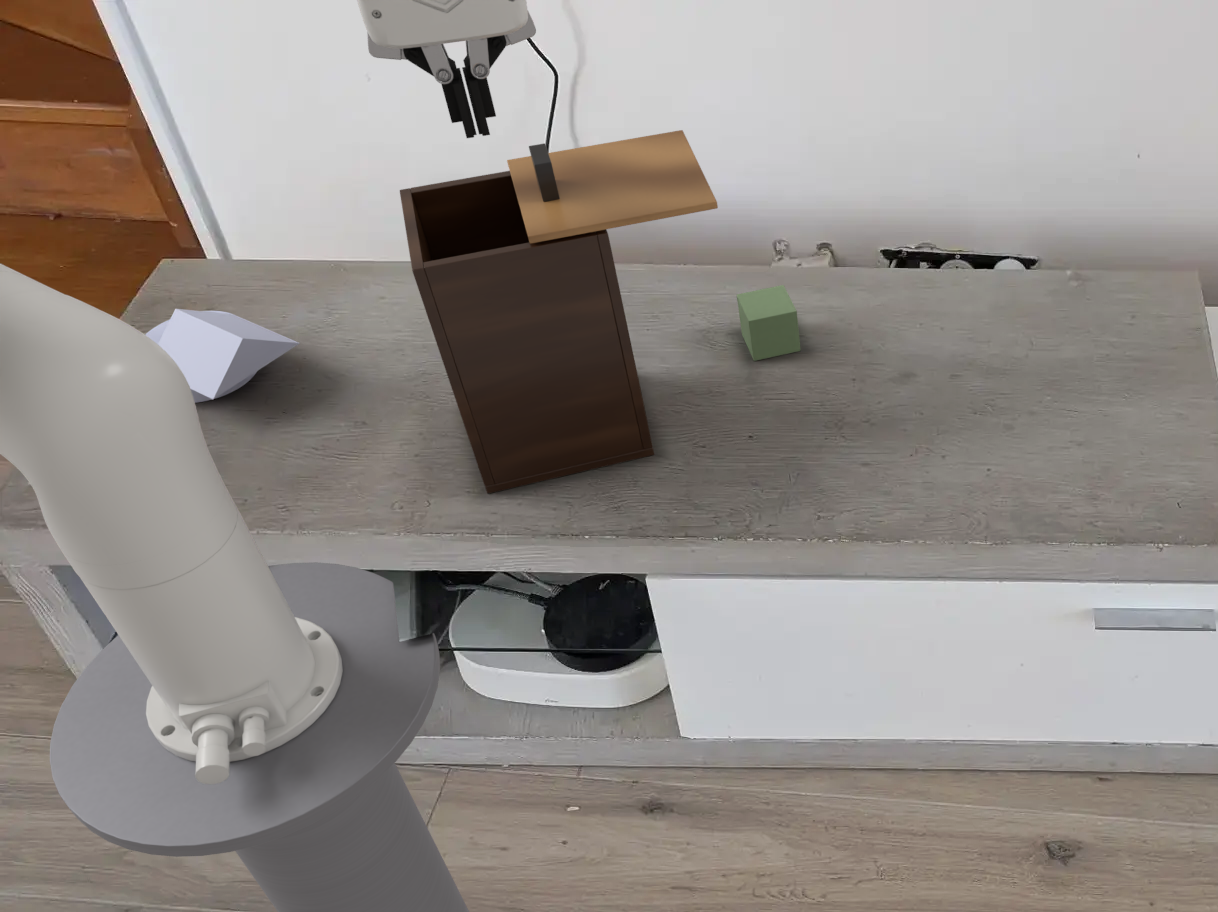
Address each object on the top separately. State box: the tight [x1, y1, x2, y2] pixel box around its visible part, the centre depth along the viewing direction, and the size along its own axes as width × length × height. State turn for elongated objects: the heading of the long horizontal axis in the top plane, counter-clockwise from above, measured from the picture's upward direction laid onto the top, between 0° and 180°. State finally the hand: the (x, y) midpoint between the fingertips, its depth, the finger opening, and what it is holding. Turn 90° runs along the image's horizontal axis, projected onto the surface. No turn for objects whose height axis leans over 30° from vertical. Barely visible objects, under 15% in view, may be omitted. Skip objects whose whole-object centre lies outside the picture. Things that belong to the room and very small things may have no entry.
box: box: [399, 170, 655, 494], centre depth 105 cm, size 12×14×21 cm
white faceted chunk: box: [144, 308, 300, 404], centre depth 115 cm, size 9×7×13 cm
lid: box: [506, 129, 719, 243], centre depth 98 cm, size 12×14×4 cm
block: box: [736, 284, 801, 362], centre depth 120 cm, size 4×4×4 cm
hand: (476, 127), depth 93 cm, fingers closed
